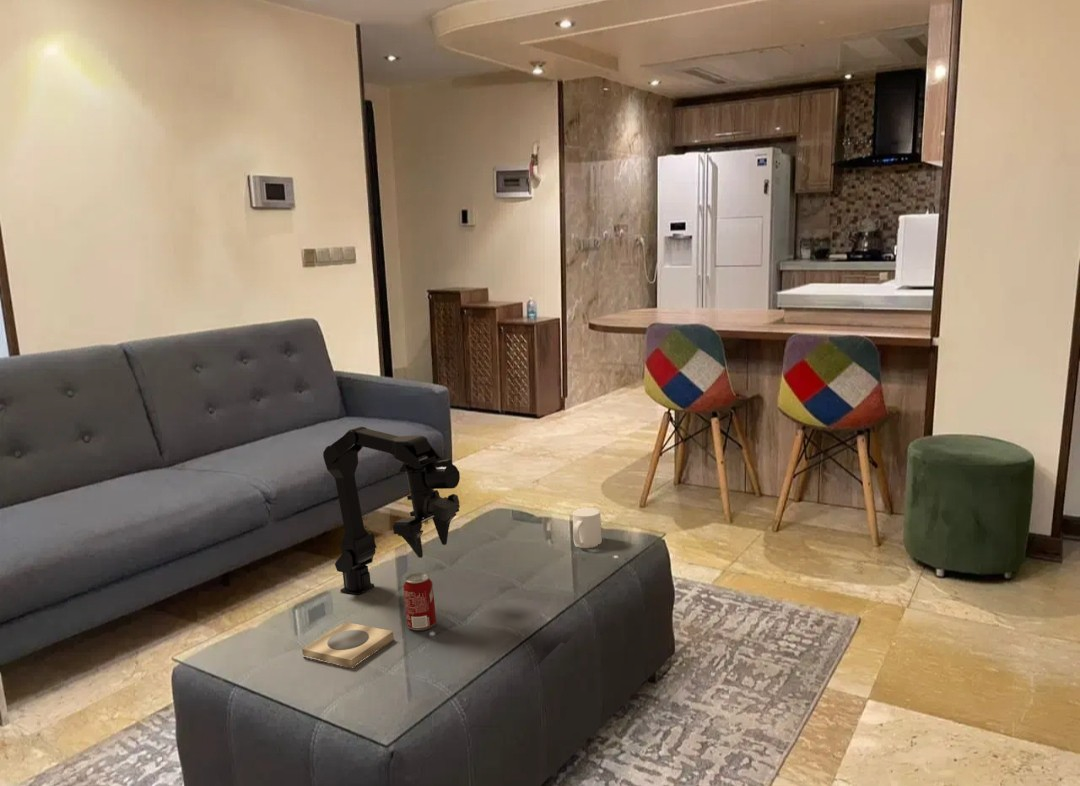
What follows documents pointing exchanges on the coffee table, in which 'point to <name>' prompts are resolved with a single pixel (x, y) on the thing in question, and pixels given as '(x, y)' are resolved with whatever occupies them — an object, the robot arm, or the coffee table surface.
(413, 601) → the soda can
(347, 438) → the robot arm
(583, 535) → the mug
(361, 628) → the base slab
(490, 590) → the coffee table surface
